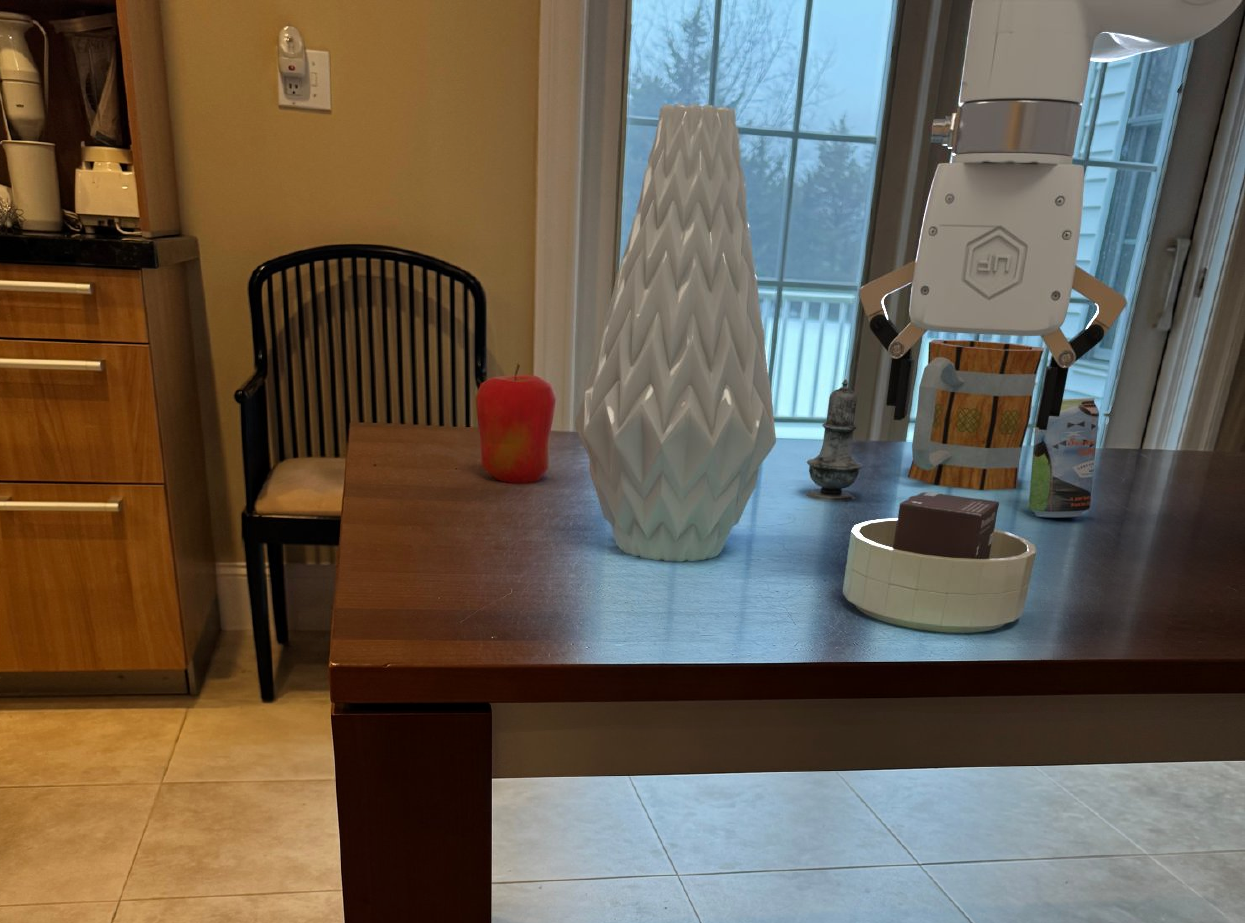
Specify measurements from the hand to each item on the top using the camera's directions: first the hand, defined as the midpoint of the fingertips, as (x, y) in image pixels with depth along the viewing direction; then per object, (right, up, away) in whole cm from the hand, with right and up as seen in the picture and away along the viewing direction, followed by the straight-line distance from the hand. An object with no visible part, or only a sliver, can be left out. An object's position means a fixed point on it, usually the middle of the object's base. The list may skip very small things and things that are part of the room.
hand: (969, 422), depth 82 cm
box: (-1, -12, +6) cm, 13 cm away
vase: (-21, -4, +19) cm, 29 cm away
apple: (-36, +9, +45) cm, 58 cm away
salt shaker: (-2, +8, +45) cm, 45 cm away
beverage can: (+21, +4, +41) cm, 46 cm away
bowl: (-1, -12, +6) cm, 14 cm away
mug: (+15, +13, +56) cm, 59 cm away
